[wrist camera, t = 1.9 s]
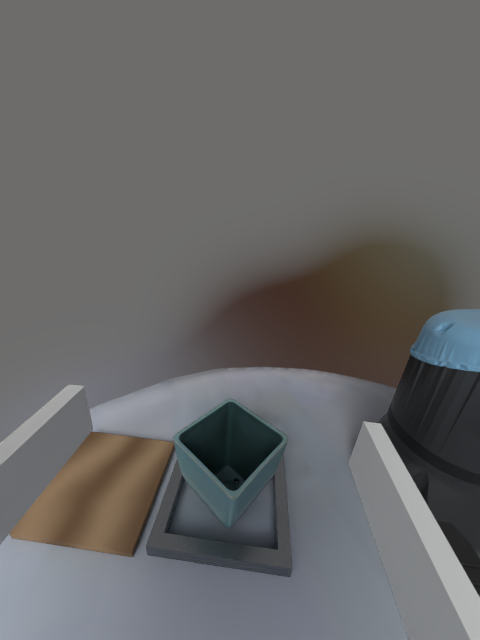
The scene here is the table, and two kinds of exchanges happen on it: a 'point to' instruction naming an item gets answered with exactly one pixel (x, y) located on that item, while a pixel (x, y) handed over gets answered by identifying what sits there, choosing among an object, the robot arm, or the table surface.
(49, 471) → the robot arm
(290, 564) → the metal collar
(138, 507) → the walnut board
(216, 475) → the flower pot
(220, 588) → the table surface
